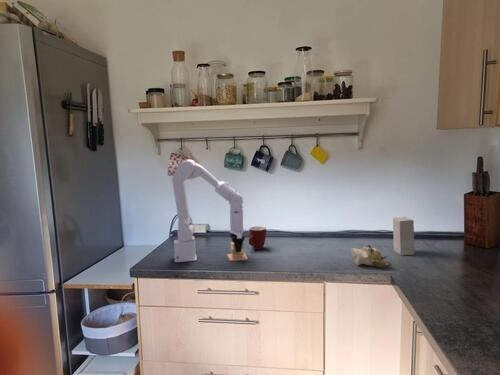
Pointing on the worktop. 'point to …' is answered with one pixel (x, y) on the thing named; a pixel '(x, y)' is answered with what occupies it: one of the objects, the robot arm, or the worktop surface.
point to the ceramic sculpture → (368, 257)
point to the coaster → (237, 257)
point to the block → (235, 251)
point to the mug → (257, 237)
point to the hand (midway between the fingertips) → (237, 250)
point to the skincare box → (403, 235)
